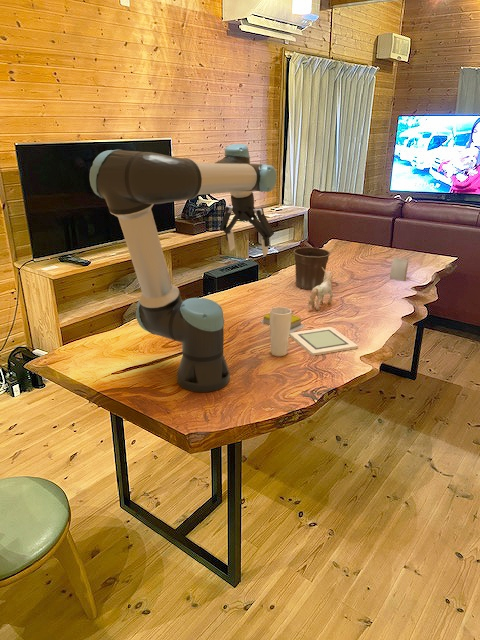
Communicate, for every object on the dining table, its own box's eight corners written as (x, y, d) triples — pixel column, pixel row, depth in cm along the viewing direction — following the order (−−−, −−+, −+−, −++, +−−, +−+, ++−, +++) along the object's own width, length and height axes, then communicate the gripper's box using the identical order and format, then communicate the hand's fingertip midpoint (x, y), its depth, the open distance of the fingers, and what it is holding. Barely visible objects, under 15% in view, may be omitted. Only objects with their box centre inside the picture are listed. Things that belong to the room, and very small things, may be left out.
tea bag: (403, 281, 232) (406, 260, 228) (389, 278, 235) (392, 258, 231) (405, 279, 235) (408, 259, 231) (391, 276, 238) (394, 256, 234)
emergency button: (275, 305, 187) (307, 316, 178) (275, 316, 189) (306, 327, 180) (259, 312, 181) (291, 323, 172) (259, 322, 183) (290, 334, 173)
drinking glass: (264, 355, 157) (266, 311, 151) (273, 347, 162) (275, 305, 157) (284, 359, 154) (286, 315, 148) (292, 351, 159) (295, 309, 154)
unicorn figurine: (335, 299, 206) (338, 269, 201) (324, 315, 190) (326, 282, 185) (319, 297, 209) (321, 267, 204) (306, 312, 193) (308, 279, 187)
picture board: (312, 356, 157) (313, 353, 156) (289, 335, 171) (289, 332, 171) (357, 348, 162) (358, 345, 162) (331, 329, 177) (331, 326, 177)
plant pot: (334, 289, 218) (337, 254, 212) (302, 293, 213) (304, 257, 207) (315, 279, 232) (318, 246, 226) (285, 282, 227) (287, 248, 221)
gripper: (280, 192, 157) (285, 251, 169) (216, 186, 169) (224, 242, 181) (270, 200, 152) (275, 261, 164) (204, 194, 164) (213, 251, 176)
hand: (248, 251), depth 172 cm, fingers open, 13 cm apart
